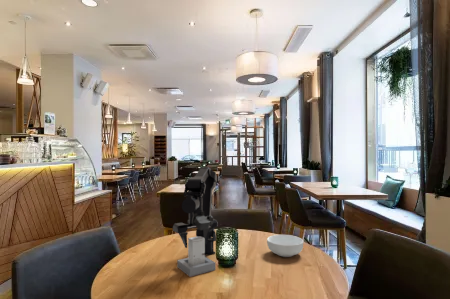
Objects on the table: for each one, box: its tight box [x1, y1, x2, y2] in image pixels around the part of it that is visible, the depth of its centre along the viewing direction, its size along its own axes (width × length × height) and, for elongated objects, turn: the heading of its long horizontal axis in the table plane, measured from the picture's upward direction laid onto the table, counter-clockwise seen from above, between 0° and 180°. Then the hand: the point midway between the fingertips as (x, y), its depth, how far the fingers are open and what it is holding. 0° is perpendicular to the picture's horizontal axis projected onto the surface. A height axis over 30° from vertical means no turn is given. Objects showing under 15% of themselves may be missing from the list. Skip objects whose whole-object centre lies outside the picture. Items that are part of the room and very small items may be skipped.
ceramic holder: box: [176, 256, 217, 278], centre depth 121 cm, size 12×12×3 cm
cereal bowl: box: [266, 234, 304, 258], centre depth 137 cm, size 17×17×7 cm
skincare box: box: [187, 236, 206, 266], centre depth 121 cm, size 6×4×12 cm
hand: (196, 245), depth 121 cm, fingers open, 9 cm apart
